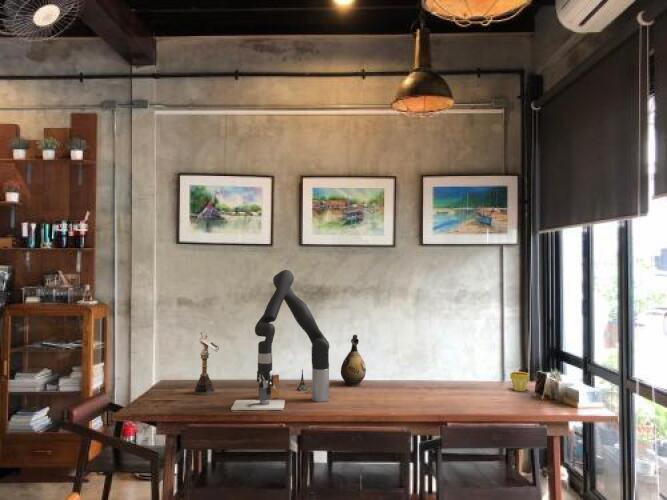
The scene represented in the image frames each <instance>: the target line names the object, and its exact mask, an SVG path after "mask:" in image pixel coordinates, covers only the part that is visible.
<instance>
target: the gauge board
mask: <svg viewBox="0 0 667 500" xmlns="http://www.w3.org/2000/svg"><path fill="white" fill-rule="evenodd" d="M254 403H260V400H259V399H236V400H235V401H234V403H233V405H232V406H231V408H230V411H231V410H283V411H284V409H283V408H285V403H286V400H285V399H270V400H269V404H267V405H261V404H257V405H250V406H249V405H248V404H254Z"/></svg>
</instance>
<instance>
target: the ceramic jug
mask: <svg viewBox="0 0 667 500" xmlns="http://www.w3.org/2000/svg"><path fill="white" fill-rule="evenodd" d="M359 341H360V340H359V338H358V334H353V335H352V338H351V340H350V342H351V349H350V351H349V352H348V354H347V355H346V356H345V358H344V359H343V361H342V364H341V368H340V376H341V378H342V380H343V382H344V385H345V386H349V387H357V386H360V385H361V383H362V381H363V380H364V379H365V377H366V374H367V370H366V364H365V361H364V360H363V357H362V356H361V354H360V352H359V350H358V347H357V346H358V345H359Z"/></svg>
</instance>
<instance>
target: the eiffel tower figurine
mask: <svg viewBox="0 0 667 500" xmlns="http://www.w3.org/2000/svg"><path fill="white" fill-rule="evenodd" d="M295 390H296V391H298V392H304V393H305V394H309V393H310V392H312V387H310V386H309V387H307V386H306V384H305V380H304V370H303V368H302V369H301V379H300V383H299V385H298V386H297V388H296V389H295Z"/></svg>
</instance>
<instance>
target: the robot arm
mask: <svg viewBox="0 0 667 500" xmlns="http://www.w3.org/2000/svg"><path fill="white" fill-rule="evenodd" d="M294 279H295V276H294V274H293V272H292V271H291V270H289V269H283V270H281V271H280V272H278V273H277V274H275V275H274V276H273V279H272V281H273V285H274V287H275V290H274V292H273V294H272V296H271V298H269V301H268V303H267V305H266V307H265V310H264V311H263V312H264V313H263V315H262V316H261V317H260V319H259V320H258V321H257V322H256V324H255V327H254V333H255V335H256V336H257V337H265V338H264V340H261V341H259V342H258V344H257V347H258V348H257V371H256V382H257V383H258V389H259V388H263V383H265V384H266V386H267V387H266V392H267V395H270V394H271V387H272V386H273V375H270V373H271V371H273V351H272V350H273V347H272V346H273V341H274V337H275V334H276V327H275V325H274V324H273V323H274V322H275V321H276V320H277V318H278V315H279V312H280V310H281V307H282V304H283V302H285V303H286V305H287V306H288V308H289V310H290V312H291V314H292V316H293V318H294V319H295V321H296V322H297V324H298V326H300V328H301V329H302V330H303V331H304V332H305V333H306V335H307V337H308V338H309V341H310V343H311V388H312V390H311V400H312V401H314V402H320V403H321V402H329V401H330V361H329V357H330V355H329V354H330V352H329V350H330V342H329V341H328V339H327V338H326V336H325V335H324V333H323V332H322V331H321V330H320V328H319V327H318V325H317V322H316V319H315V318H314V316H313V314H312V312H311V310H310V308H309V307H308V305H307V304H306V302H304V300H302V299H301V298H300V297H299V296H297V295H296V294H295V292H294V291H293V289H292V288H291V286H292V285H293V283H294Z"/></svg>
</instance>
